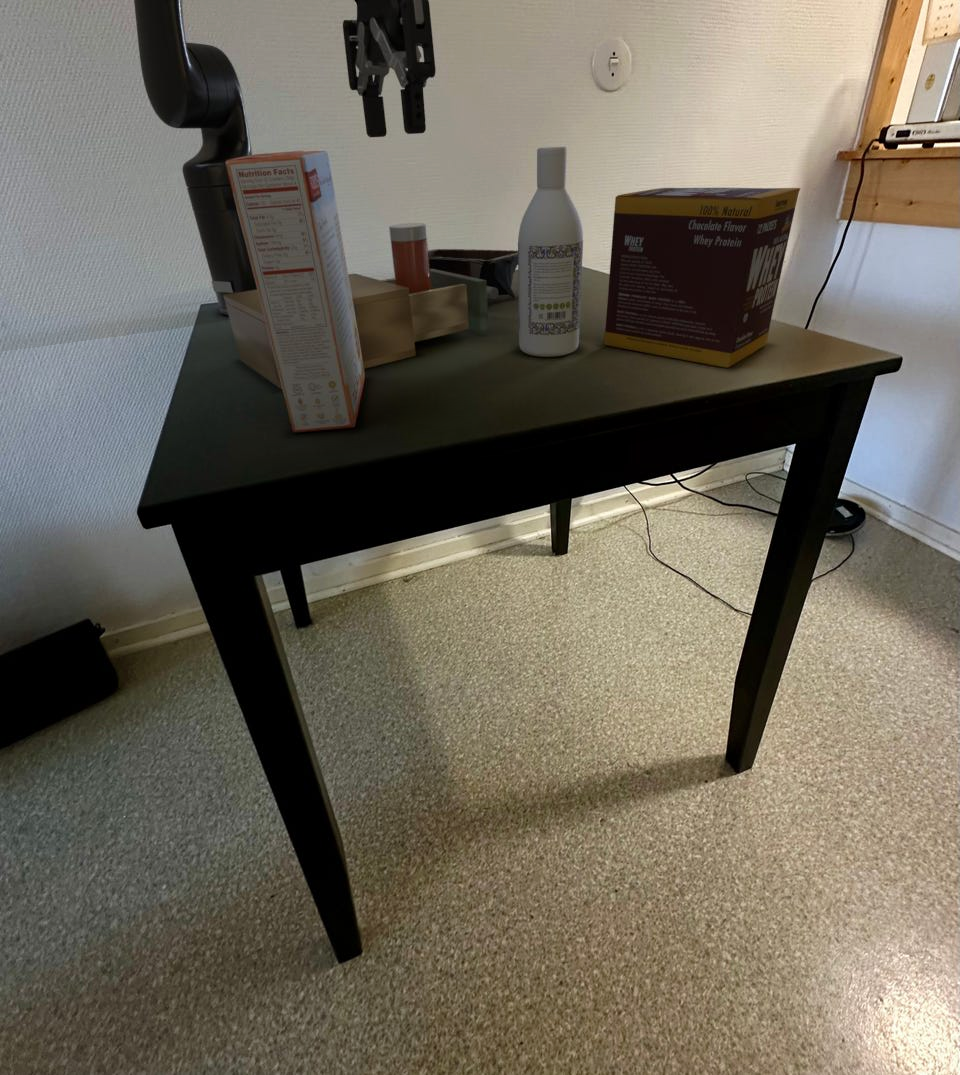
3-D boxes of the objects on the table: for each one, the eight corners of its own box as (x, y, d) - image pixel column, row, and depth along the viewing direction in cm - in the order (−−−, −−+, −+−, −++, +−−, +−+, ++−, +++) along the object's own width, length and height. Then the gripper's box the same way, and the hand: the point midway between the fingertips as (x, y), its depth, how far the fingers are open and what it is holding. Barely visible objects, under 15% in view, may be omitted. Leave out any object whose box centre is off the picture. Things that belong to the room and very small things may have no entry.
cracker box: (311, 382, 65) (263, 152, 53) (367, 378, 65) (331, 148, 53) (287, 435, 53) (219, 155, 42) (356, 430, 53) (307, 150, 42)
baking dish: (454, 301, 103) (439, 238, 98) (542, 293, 93) (531, 222, 88) (399, 328, 94) (380, 260, 89) (490, 322, 84) (474, 245, 79)
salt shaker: (393, 321, 77) (382, 226, 71) (422, 315, 79) (413, 222, 73) (411, 327, 74) (400, 228, 68) (441, 321, 76) (433, 224, 70)
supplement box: (730, 369, 62) (762, 196, 53) (602, 345, 71) (612, 194, 62) (769, 345, 68) (803, 186, 60) (647, 326, 77) (662, 185, 69)
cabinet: (363, 334, 81) (354, 273, 76) (416, 355, 71) (409, 287, 67) (240, 361, 73) (223, 294, 69) (281, 389, 63) (263, 314, 59)
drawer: (460, 307, 87) (457, 264, 84) (514, 322, 78) (513, 274, 75) (335, 334, 78) (326, 286, 74) (380, 355, 69) (373, 302, 66)
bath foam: (590, 351, 69) (601, 144, 58) (538, 362, 67) (539, 148, 56) (558, 338, 75) (562, 146, 64) (508, 347, 72) (504, 149, 61)
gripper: (448, -90, 53) (460, 131, 62) (374, -49, 63) (393, 136, 72) (373, -102, 50) (397, 134, 59) (306, -57, 60) (336, 139, 69)
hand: (395, 135), depth 65 cm, fingers open, 8 cm apart
